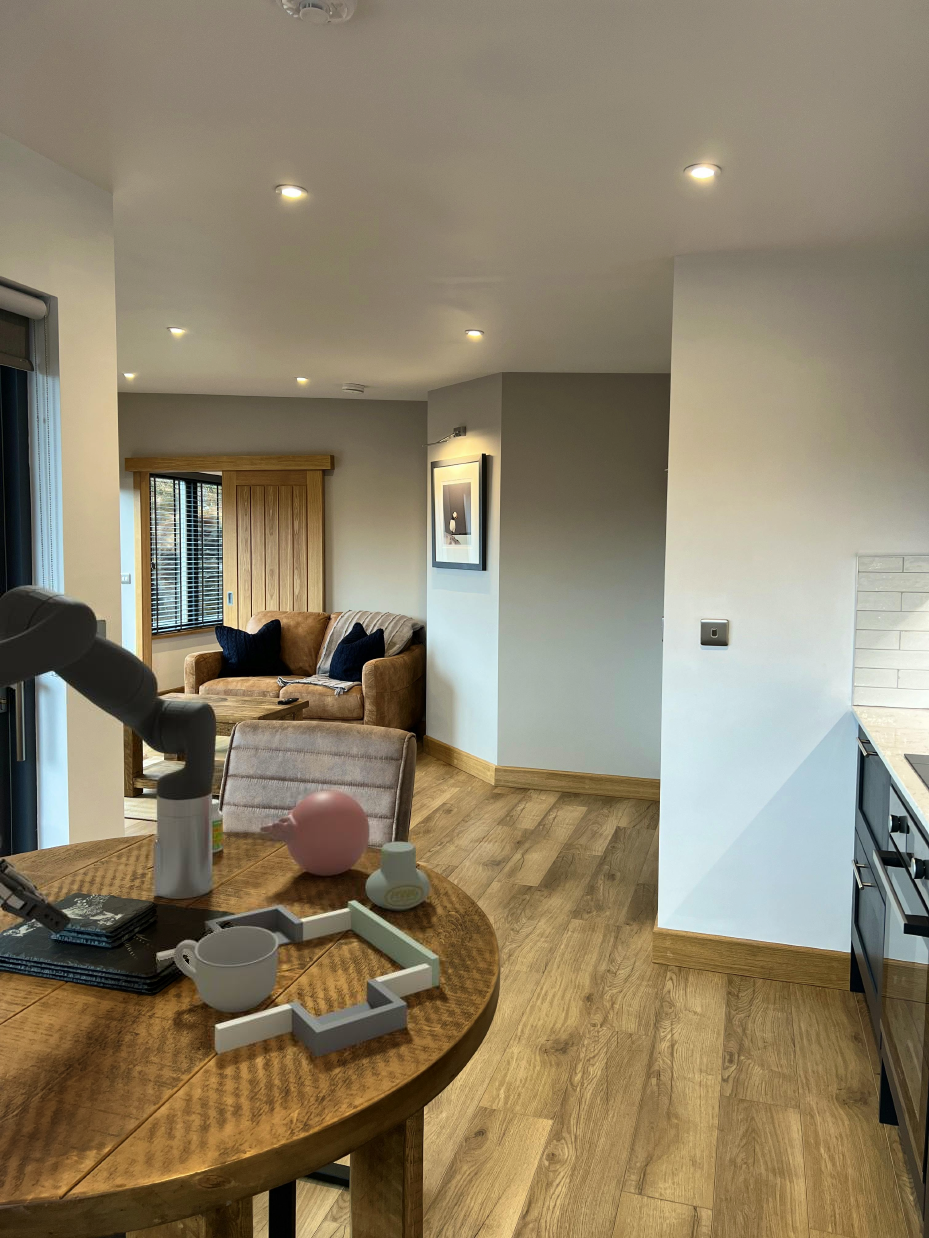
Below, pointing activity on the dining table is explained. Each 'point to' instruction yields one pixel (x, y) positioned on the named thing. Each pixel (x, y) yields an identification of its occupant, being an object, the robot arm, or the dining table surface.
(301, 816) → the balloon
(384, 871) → the air freshener
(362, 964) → the dining table surface
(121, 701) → the robot arm
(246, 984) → the teacup
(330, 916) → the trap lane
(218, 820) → the supplement bottle
